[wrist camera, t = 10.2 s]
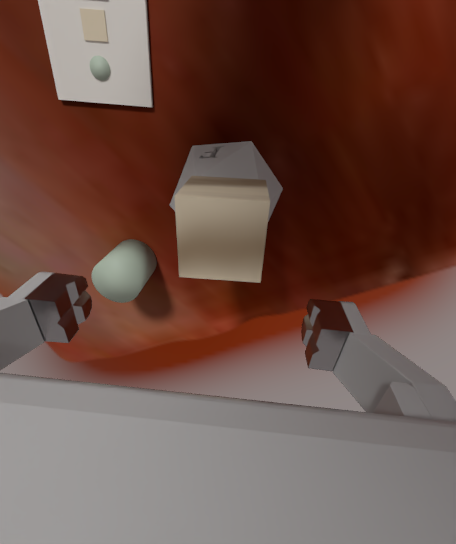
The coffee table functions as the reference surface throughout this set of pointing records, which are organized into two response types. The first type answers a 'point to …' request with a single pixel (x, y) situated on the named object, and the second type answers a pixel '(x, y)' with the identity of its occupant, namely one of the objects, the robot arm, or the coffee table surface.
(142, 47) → the plan card
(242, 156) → the die
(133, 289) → the pale green rounded lump
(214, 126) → the coffee table surface
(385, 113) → the coffee table surface
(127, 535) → the robot arm
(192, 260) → the birch block
